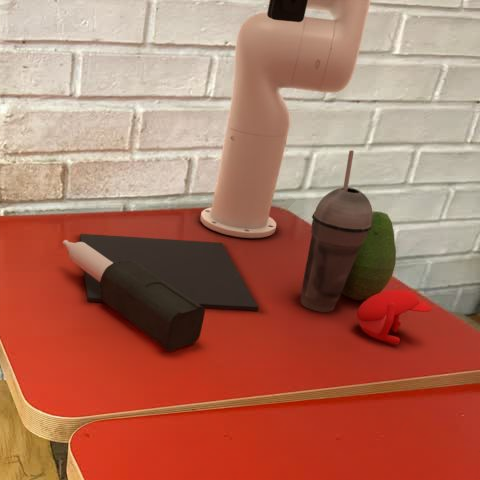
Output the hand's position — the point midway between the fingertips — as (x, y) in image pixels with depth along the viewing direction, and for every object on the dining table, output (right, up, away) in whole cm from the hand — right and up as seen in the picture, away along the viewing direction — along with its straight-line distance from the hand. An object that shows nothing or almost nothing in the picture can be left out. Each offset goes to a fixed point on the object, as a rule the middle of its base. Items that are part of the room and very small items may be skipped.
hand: (284, 19), depth 67 cm
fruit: (+17, -23, +29) cm, 41 cm away
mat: (-9, -19, +30) cm, 37 cm away
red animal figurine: (+18, -29, +19) cm, 40 cm away
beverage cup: (+11, -25, +26) cm, 37 cm away
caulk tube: (-8, -29, +10) cm, 32 cm away
